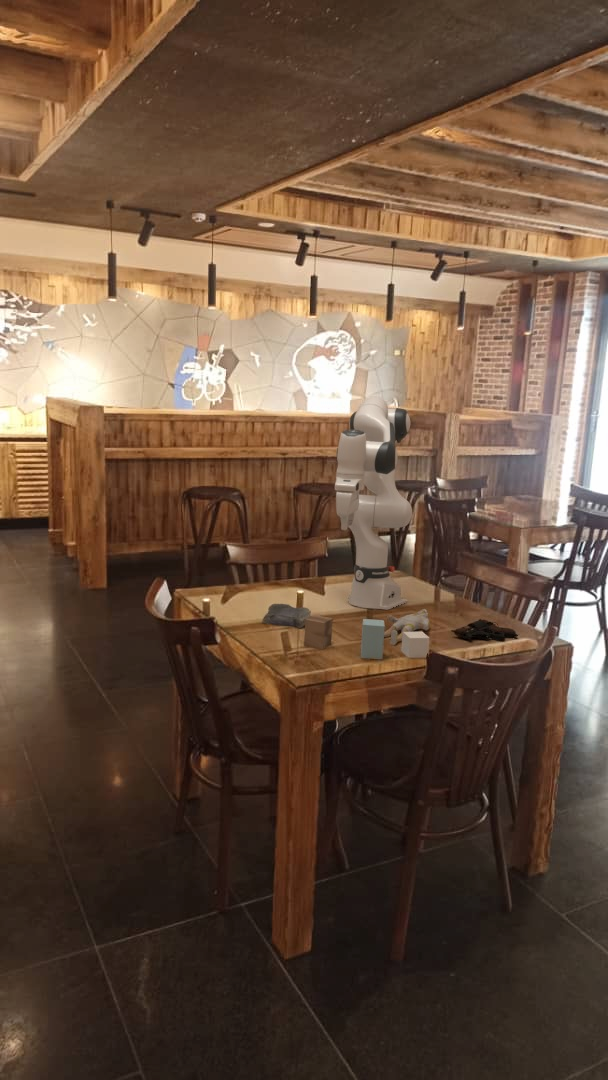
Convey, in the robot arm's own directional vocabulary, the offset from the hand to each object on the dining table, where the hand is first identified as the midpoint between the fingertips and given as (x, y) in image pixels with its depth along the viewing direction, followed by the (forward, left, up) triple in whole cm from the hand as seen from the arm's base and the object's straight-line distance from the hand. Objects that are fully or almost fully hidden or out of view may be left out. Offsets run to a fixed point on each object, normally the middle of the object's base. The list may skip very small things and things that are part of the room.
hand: (346, 527), depth 243 cm
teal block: (+11, +24, -33) cm, 42 cm away
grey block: (-1, +30, -33) cm, 44 cm away
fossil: (+8, -16, -33) cm, 38 cm away
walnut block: (+17, +8, -33) cm, 38 cm away
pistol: (-34, +32, -33) cm, 57 cm away
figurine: (-15, +14, -33) cm, 39 cm away
